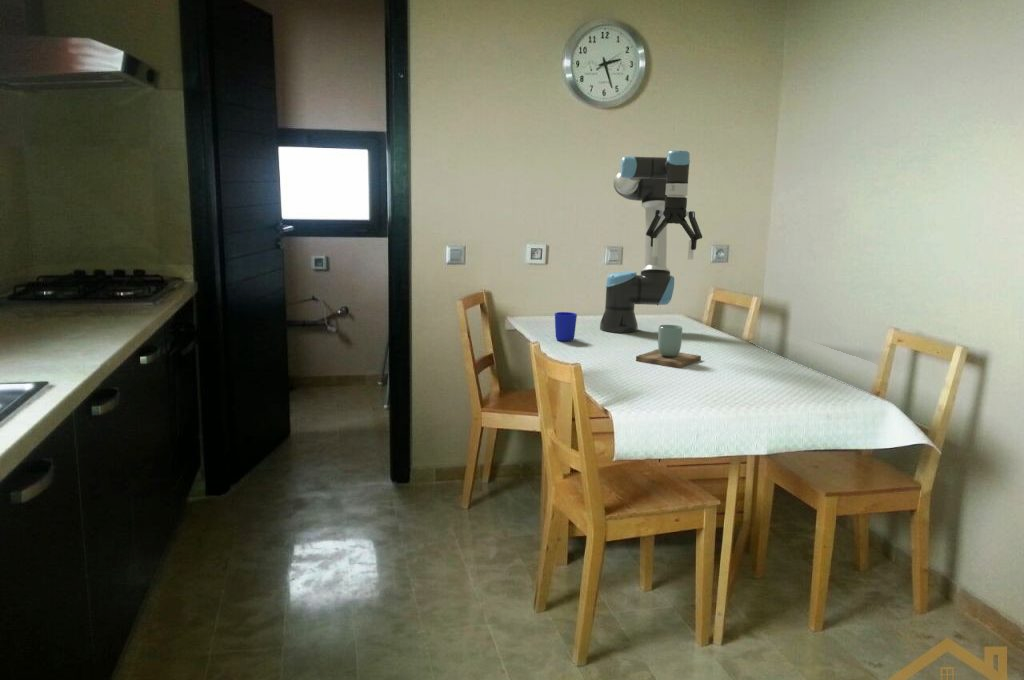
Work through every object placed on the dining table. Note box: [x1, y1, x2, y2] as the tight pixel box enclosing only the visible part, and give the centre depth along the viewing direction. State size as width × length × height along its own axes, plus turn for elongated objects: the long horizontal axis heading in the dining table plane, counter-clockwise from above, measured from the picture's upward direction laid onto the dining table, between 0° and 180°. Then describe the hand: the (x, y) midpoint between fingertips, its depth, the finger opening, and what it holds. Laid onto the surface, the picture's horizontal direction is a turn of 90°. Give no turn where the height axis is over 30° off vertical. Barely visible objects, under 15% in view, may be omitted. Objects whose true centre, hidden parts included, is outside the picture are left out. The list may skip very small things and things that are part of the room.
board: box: [635, 348, 702, 369], centre depth 268 cm, size 16×16×2 cm
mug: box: [554, 311, 578, 342], centre depth 300 cm, size 8×12×10 cm
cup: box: [657, 324, 683, 357], centre depth 267 cm, size 8×8×10 cm
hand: (672, 257), depth 281 cm, fingers open, 13 cm apart
